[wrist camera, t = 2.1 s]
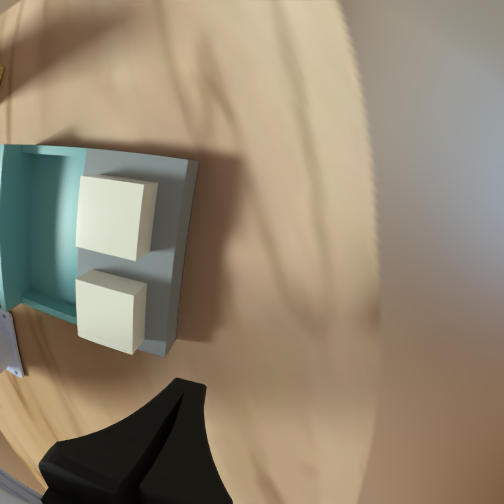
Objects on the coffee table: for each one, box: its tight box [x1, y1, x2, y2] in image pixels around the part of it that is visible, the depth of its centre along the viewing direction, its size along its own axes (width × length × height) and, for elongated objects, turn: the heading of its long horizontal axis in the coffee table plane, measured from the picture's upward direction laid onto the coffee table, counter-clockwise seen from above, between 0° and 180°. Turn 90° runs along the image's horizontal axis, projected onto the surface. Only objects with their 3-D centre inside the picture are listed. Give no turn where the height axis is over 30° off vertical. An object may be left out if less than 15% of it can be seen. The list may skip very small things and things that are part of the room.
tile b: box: [76, 174, 158, 261], centre depth 16 cm, size 4×4×2 cm
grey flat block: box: [78, 148, 199, 358], centre depth 19 cm, size 7×12×2 cm, turn 169°
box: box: [0, 144, 93, 325], centre depth 19 cm, size 7×12×4 cm, turn 169°
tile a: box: [75, 269, 147, 355], centre depth 18 cm, size 4×4×2 cm
